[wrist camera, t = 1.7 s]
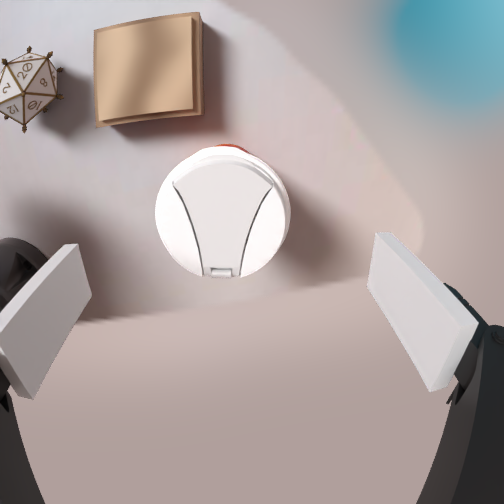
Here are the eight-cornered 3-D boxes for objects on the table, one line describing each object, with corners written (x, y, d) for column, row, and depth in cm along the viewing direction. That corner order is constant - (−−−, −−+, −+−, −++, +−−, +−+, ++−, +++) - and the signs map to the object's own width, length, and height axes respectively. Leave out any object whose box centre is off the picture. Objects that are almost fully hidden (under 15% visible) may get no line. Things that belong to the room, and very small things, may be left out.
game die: (54, 75, 27) (19, 23, 18) (94, 91, 27) (56, 27, 17) (7, 133, 26) (-41, 89, 16) (40, 158, 25) (-17, 107, 15)
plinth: (109, 125, 28) (93, 128, 24) (107, 36, 23) (91, 29, 20) (204, 114, 28) (200, 114, 25) (202, 21, 24) (198, 9, 20)
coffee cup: (265, 211, 33) (287, 288, 20) (186, 210, 32) (156, 286, 19) (269, 132, 29) (301, 152, 16) (186, 130, 29) (146, 150, 15)
